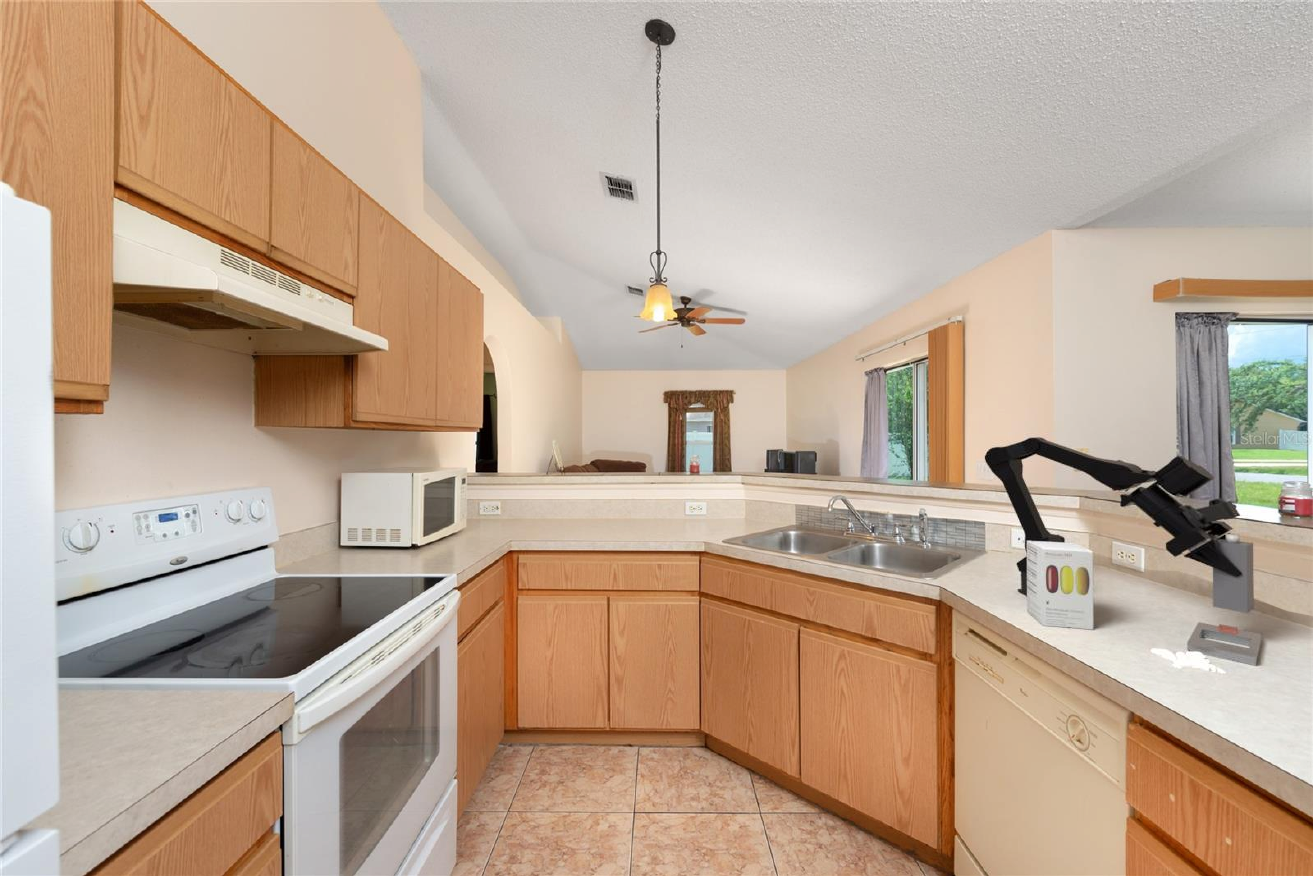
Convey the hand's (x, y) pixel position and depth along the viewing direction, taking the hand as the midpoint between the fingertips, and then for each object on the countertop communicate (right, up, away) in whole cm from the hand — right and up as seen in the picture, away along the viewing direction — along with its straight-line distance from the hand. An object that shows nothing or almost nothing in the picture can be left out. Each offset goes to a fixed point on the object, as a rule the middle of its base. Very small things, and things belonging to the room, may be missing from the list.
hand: (1243, 573), depth 99 cm
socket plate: (-5, -14, -1) cm, 15 cm away
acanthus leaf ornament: (-19, -15, -8) cm, 25 cm away
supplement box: (-25, -14, +13) cm, 32 cm away
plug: (-1, -7, +1) cm, 7 cm away
